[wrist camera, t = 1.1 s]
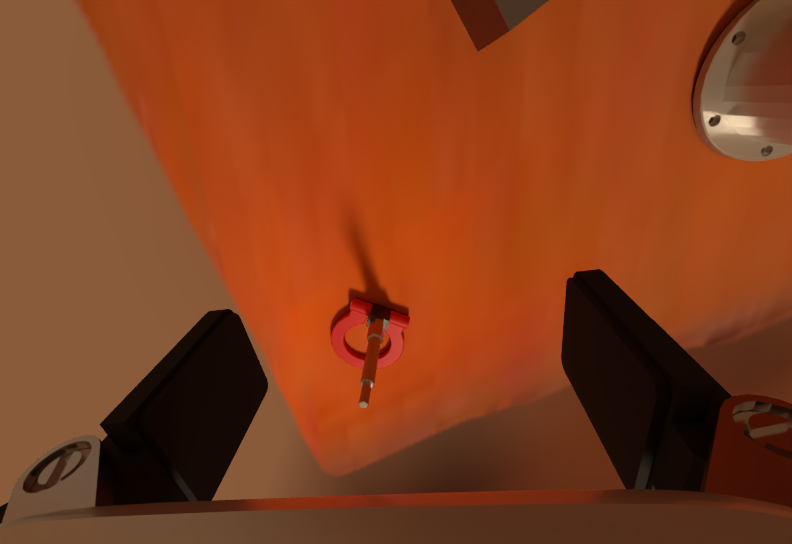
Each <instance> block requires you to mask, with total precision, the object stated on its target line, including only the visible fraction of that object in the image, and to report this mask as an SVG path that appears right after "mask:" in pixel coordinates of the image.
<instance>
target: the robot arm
mask: <svg viewBox="0 0 792 544" xmlns="http://www.w3.org/2000/svg"><path fill="white" fill-rule="evenodd" d="M693 116H694V120H695V124H696V128H697V130H698V132H699V134H700V136H701V138H702V139H703V141H704V142H705V143H706V144H707V145H708V146H709V147H710V148H711V149H712V150H714V151H716V152H718V153H719V154H721V155H723V156H727V157H731V158H734V159H740V160H747V161H765V160H770V159H775V158H779V157H783V156H786V155H789V154H791V153H792V0H753V1H752V2H751V3H750V4H749V5H748V6H746V7H745V8H744V9H743V10H742V11H741V12H740V13H739V14H738V15H737V16H736V17H735V18H734V19H733V20H732V21H731V22H730V24H729V25H728V26H727V27H726V28H725V29H724V30H723V32H722V33H721V35H720V36H719V38H718V39H717V40H716V42H715V43H714V45H713V46H712V48H711V49H710V51H709V53H708V55H707V57H706V59H705V61H704V63H703V65H702V67H701V70H700V73H699V76H698V79H697V82H696V86H695V92H694V98H693ZM561 360H562V365H563V369H564V371H565V373H566V375H567V377H568V379H569V381H570V382H571V384H572V386H573V388H574V390H575V392H576V394H577V396H578V398H579V400H580V402H581V404H582V406H583V407H584V409H585V411H586V413H587V415H588V417H589V419H590V421H591V423H592V425H593V427H594V429H595V430H596V432H597V434H598V436H599V438H600V440H601V442H602V444H603V446H604V448H605V450H606V452H607V454H608V455H609V457H610V459H611V461H612V463H613V465H614V467H615V469H616V471H617V473H618V475H619V477H620V478H621V480H622V482H623V484H624V486H625V488H626V489H596V490H532V491H495V492H494V491H493V492H457V493H421V494H420V493H419V494H387V495H357V496H330V497H329V496H326V497H298V498H268V499H245V500H244V499H242V500H218V501H211V500H212V498H213V497H214V495H215V493H216V491H217V489H218V487H219V485H220V483H221V481H222V479H223V477H224V475H225V473H226V471H227V469H228V467H229V465H230V463H231V461H232V459H233V458H234V455H235V453H236V452H237V450H238V448H239V446H240V443H241V441H242V440H243V438H244V436H245V434H246V432H247V430H248V428H249V426H250V424H251V422H252V420H253V418H254V416H255V414H256V412H257V410H258V408H259V406H260V404H261V402H262V400H263V398H264V396H265V394H266V392H267V389H268V382H267V378H266V376H265V374H264V372H263V369H262V367H261V365H260V362H259V360H258V358H257V355H256V353H255V351H254V349H253V347H252V344H251V342H250V339H249V337H248V335H247V333H246V330H245V328H244V326H243V323H242V321H241V319H240V317H239V315H238V314H236V313H233V312H232V310H229V309H225V310H216V311H209V312H208V313H207V314H205V315H204V316H203V317H202V318H201V320H200V321H199V322H198V323H197V324H196V325H195V326H194V327H193V328H192V329H191V330H190V331H189V332H188V333H187V334H186V335H185V336H184V337H183V338H182V339H181V340H180V341H179V342H178V343H177V345H176V346H175V347H174V348H173V349H172V350H171V351H170V352H169V353H168V354H167V355H166V356H165V357H164V358H163V359H162V360H161V361H160V362H159V363H158V364H157V365H156V366H155V367H154V369H153V370H152V371H151V372H150V373H149V374H148V375H147V376H146V377H145V378H144V379H143V380H142V381H141V382H140V383H139V384H138V385H137V386H136V387H135V388H134V390H132V391H131V392H130V393H129V394H128V395H127V397H126V398H125V399H124V400H123V401H122V402H121V403H120V404H119V405H118V406H117V407H116V408H115V409H114V410H113V411H112V412H111V413H110V414H109V415H108V416H107V417H106V418H105V419H104V421H102V423H101V424H100V425H101V427H102V428H103V429H104V431H105V432H106V433H107V434H108V435H107V437H106V438H105V439H104V440H103V441H101V440H100V439H99V438H98V437H96V436H94V435H84V436H80V437H76V438H73V439H71V440H68V441H66V442H64V443H62V444H60V445H58V446H57V447H55V448H53V449H51V450H50V451H48V452H47V453H46V454H44V455H43V456H41V457H40V458H39V459H37V460H36V461H35V462H34V463H33V464H32V465H31V466H30V467H28V468H27V470H25V472H24V473H23V474H22V475H21V477H20V478H19V479H18V480H17V482H16V484H15V486H14V488H13V490H12V493H11V496H10V499H9V502H8V503H6V504H4V505H3V506H1V507H0V544H792V404H791V403H788V402H785V401H783V400H779V399H775V398H771V397H767V396H762V395H751V394H744V395H737V396H731V395H730V394H729V393H728V392H727V391H726V390H725V389H724V388H723V387H722V386H721V385H720V384H719V383H718V382H716V381H715V380H714V379H713V378H712V377H711V376H710V375H709V374H708V373H707V372H706V371H705V370H704V369H703V368H702V367H701V366H700V365H699V364H698V363H697V362H696V361H695V360H694V359H693V358H692V357H691V356H690V355H689V354H688V353H687V352H686V351H685V350H684V349H683V348H682V347H681V346H680V345H679V344H678V343H677V342H675V341H674V340H673V339H672V338H671V337H670V336H669V335H668V334H667V333H666V332H665V331H664V330H663V329H662V328H661V327H660V326H659V325H658V324H657V323H656V322H655V321H654V320H653V319H651V318H650V317H649V316H648V315H647V314H646V313H645V312H644V311H643V310H642V309H641V308H640V307H639V306H638V305H637V304H636V303H635V302H634V301H633V300H632V299H631V298H630V297H629V296H628V295H627V294H626V293H625V292H624V291H623V290H622V289H621V288H620V287H619V286H618V285H616V284H615V283H614V282H613V281H612V280H611V279H610V278H609V277H608V276H607V275H606V274H605V273H604V272H603V271H602V270H600V269H597V270H588V271H579V272H576V273H575V274H574V277H573V278H568V280H567V285H566V299H565V312H564V326H563V340H562V354H561Z"/></svg>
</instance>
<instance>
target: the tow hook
mask: <svg viewBox="0 0 792 544" xmlns="http://www.w3.org/2000/svg"><path fill="white" fill-rule="evenodd" d="M349 310H350V312H349V313H347V314H345V315H343V316H342V317H341V318H339V319H338V321H337V322H336V323H335V325H334V327H333V330H332V333H331V344H332V346H333V349H334V351H335V352H336V354H337V355H338V356H339V357H340V358H341V359H342V360H344V361H345V362H346V363H348V364H350V365H352V366H355V367H358V368H362V369H363V372H362V377H361V382H360V385H361V387H362V389H361V395H360V400H359V406H360V407H362V408H366V407H368V404H369V398H370V392H371V388H373V387H374V382H375V376H376V369H380V368H383V367H386V366H389V365H390V364H392V363H394V362H395V361H396V360H397V359H398V358H399V357H400V356H401V353H402V351H403V348H404V336H403V332H402V331H403V329H404V328H405V329H406V328H407V326H408V324H409V320H410V317H409V316H406V315H403V314H400V313H397V312H394V311H391V309H388V308H385V307H383V306H380V305H377V304H371V303H368V302H365V301H362V300H359V299H356V298H353V299H352V301H351V304H350V308H349ZM367 316H368V320H367V324H366V326H367V327H369V330H368V335H367V339H368V347H367V352H366V356H363V355H359V354H357V353H355V352H354V351H352V350H351V349H350V348H349V347H348V345H347V344H346V341H345V333H346V332H347V331H348V329H350V328H351V327H353V326H355V325H358V324H363V323H365V321H366V318H367ZM384 332H386V333H387V334H388V336H389V337H390V341H391V345H390V347H389V348H388V350H387V351H386V352H384V353H383V354H381V355H379V350H380V344H381V343H383V338H384Z"/></svg>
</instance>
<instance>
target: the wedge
mask: <svg viewBox="0 0 792 544" xmlns="http://www.w3.org/2000/svg"><path fill="white" fill-rule="evenodd" d="M451 1H452V3H453V5H454V7H455V9H456V11H457V13H458V15H459V17H460V18H461V20H462V22H463V24H464V26H465V28H466V30H467V32H468V34H469V36H470V37H471V39H472V41H473V43H474V45H475V47H476V49H477V51H480V50H481V49H483V48H484V47H486V46H487V45H489V44H490V43H492V42H493V41H495V40H496V39H498V38H500V37H501V36H503V35H504V34H506V33H507V32H509V31H510V30H511V29H513V28H514V27H515V26H517V25H518V24H519V23H520V22H522V21H523V20H524V19H526V18H527V17H528V16H529V15H531V14H532V13H533V12H534V11H536V10H537V9H538V8H540V7H541V6H542V5H543V4H545V3H546V2H547V1H548V0H451Z"/></svg>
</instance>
